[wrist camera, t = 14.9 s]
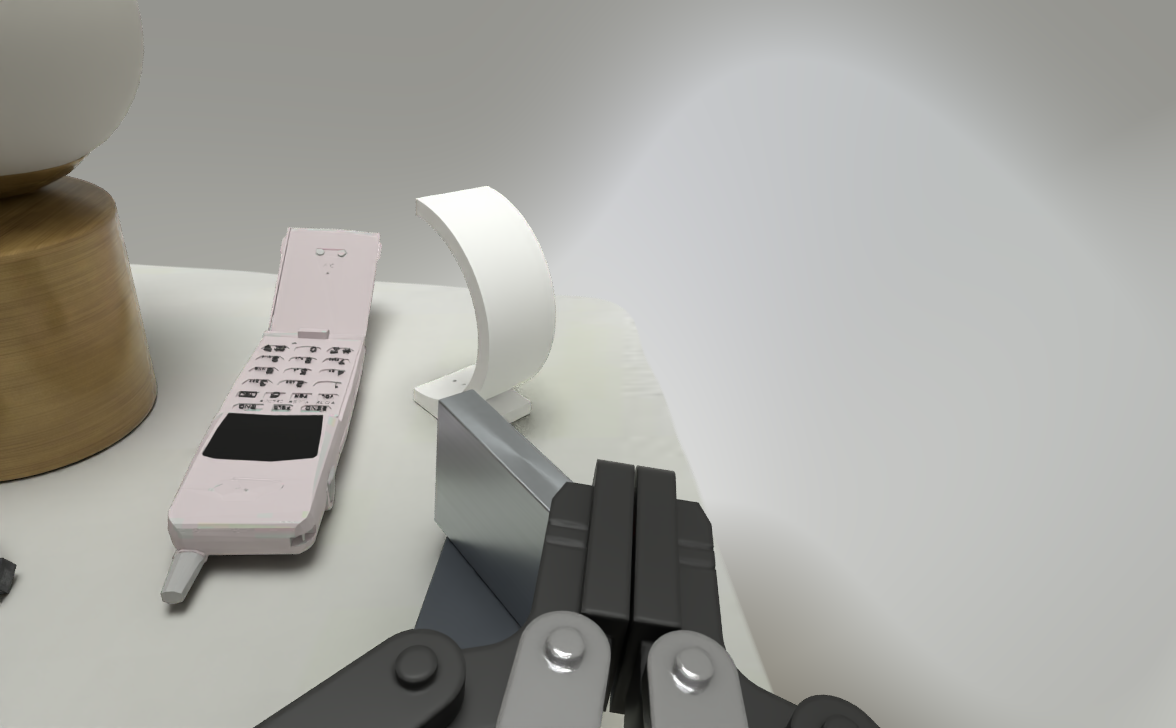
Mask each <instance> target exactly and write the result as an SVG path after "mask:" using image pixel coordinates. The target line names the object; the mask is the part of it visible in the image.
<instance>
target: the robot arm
mask: <svg viewBox="0 0 1176 728" xmlns="http://www.w3.org/2000/svg"><path fill="white" fill-rule="evenodd" d="M713 547H714V545H713V536H712V526H711V523H710V521H709V519H708V518H707V516H706V514H705V513H704V511H703V509H702V508H701V506H700V504H699V503H697V502H691V501H685V500H679V499H676V477H675V472H674V471H668V470H662V469H656V468H650V467H644V466H638V465H637V467H636V469H635V466H634V465H630V464H624V463H618V462H612V461H606V460H599V459H597V463H596V468H595V473H594V478H593V484H592V486H591V485H585V484H578V483H572V482H566V483H565V484H564V485H563V486H562V487H561V489H560V490H559V491H558V492H557V493H556V494H555V496H554V497H553V498H552V501H551V507H550V512H549V517H548V523H547V528H546V533H545V539H544V544H543V550H542V555H541V560H540V566H539V571H538V576H537V582H536V587H535V592H534V598H533V603H532V608H531V611H530V614H529V616H528V618H527V620H526V622H525V623H524V625H523V626H522V627H521V628H520V629H519V630H518V631H517V632H516V633H514V634H513V635H512V636H510V637H508V638H507V639H505V640H503V641H500V642H497V643H495V644H490V645H485V646H479V647H472V648H465V649H461V648H460V647H459V646H458V644H457V643H456V642H455V641H454V640H453V639H452V638H450V637H449V636H447V635H446V634H444V633H441V632H439V631H436V630H431V629H421V628H420V629H411V630H407V631H403V632H400V633H398V634H395V635H394V636H392V637H390V638H388V639H387V640H385V641H384V642H382V643H381V644H379V645H378V646H376V647H375V648H373V649H372V650H370V651H369V652H367V653H366V654H364V655H363V656H361V657H360V658H358V659H356V660H355V661H353V662H352V663H350V664H349V665H347V666H346V667H344V668H343V669H341V670H340V671H338V672H337V673H335V674H334V675H332V676H331V677H329V678H328V679H326V680H325V681H323V682H322V683H320V684H319V685H317V686H316V687H314V688H313V689H311V690H310V691H308V692H307V693H305V694H304V695H302V696H301V697H299V698H298V699H296V700H295V701H293V702H291V703H290V704H288V705H287V706H285V707H284V708H282V709H281V710H279V711H278V712H276V713H275V714H273V715H272V716H270V717H269V718H267V719H266V720H264V721H263V722H261V723H260V724H258V725H257V726H255V727H254V728H600V727H601V720H602V713H603V711H605V712H606V708H607V704H608V700H609V696H610V712H613V713H619V714H625V716H624V728H880V727H879V726H878V725H877V724H876V723H875V722H874V721H873V720H872V719H871V718H870V717H869V716H867V714H866V713H864V712H863V711H862V710H861V709H859V708H858V707H857V706H855V705H853V704H851V703H850V702H848V701H846V700H843V699H841V698H838V697H834V696H830V695H829V696H828V695H815V696H811V697H808V698H806V699H805V700H803V701H802V702H801V703H800V704H799V705H798V706H797V705H795V704H793V703H791V702H789V701H787V700H784V699H783V698H781V697H778V696H776V695H774V694H772V693H770V692H768V691H766V690H764V689H762V688H760V687H758V686H757V685H755V684H754V683H753V682H751V681H750V680H748V679H747V678H746V677H745V676H744V675H743V674H742V673H741V672H740V671H739V670H738V669H737V668H736V666H735V664H734V662H733V660H732V658H731V657H730V655H729V654H728V652H727V651H726V648H725V645H724V641H723V634H722V624H721V614H720V605H719V595H718V585H717V575H716V570H715V555H714V551H713ZM610 692H611V695H610Z"/></svg>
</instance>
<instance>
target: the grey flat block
mask: <svg viewBox="0 0 1176 728" xmlns="http://www.w3.org/2000/svg"><path fill="white" fill-rule="evenodd" d="M566 482H572V481H571V480H570V479H569V478H568V477H567V476H566V475H565V474H564V473H563V472H562V471H561V470H559V469H558V468H557V467H556V466H555V465H554V464H553V463H552V462H551V461H550V460H549V459H548V458H547V457H546V456H544V455H543V454H542V453H541V452H540V451H539V450H538V449H537V448H536V447H535V446H534V445H533V444H532V443H530V442H529V441H528V440H527V439H526V438H525V437H524V436H523V435H522V434H521V433H520V432H519V431H518V430H517V429H515V428H514V427H513V426H512V425H511V424H510V423H509V422H508V421H507V420H506V419H505V418H504V417H503V416H501V415H500V414H499V413H498V412H497V411H496V410H495V409H494V408H493V407H492V406H491V405H490V404H489V403H487V402H486V401H485V400H484V399H483V398H482V397H481V396H480V395H479V394H478V393H477V392H476V391H475V390H473V389H471V390H468V391H464V392H461V393H458V394H455V395H452V396H449V397H445V398H442V399H440V400H439V401H438V425H437V456H436V487H435V518H434V520H435V522H436V523H437V524H438V526H439V527H440V528H441V529H442V530H443V532H444V533H445V534H446V535H447V537H448V538H449V539H450V540H451V541H452V543H453V544H454V545H455V546H456V548H457V549H458V550H459V551H460V552H461V554H462V555H463V556H464V557H465V559H466V560H467V561H468V562H469V563H470V565H471V566H472V567H473V568H474V570H475V571H476V572H477V573H478V574H479V576H480V577H481V578H482V579H483V580H484V582H485V583H486V584H487V585H488V587H489V588H490V589H491V590H492V591H493V593H494V594H495V595H496V596H497V598H498V599H499V600H500V601H501V602H502V604H503V605H504V606H505V607H506V609H507V610H508V611H509V612H510V613H511V615H512V616H513V617H514V618H515V620H516V621H517V622H518V623H519V624H520V626H521V627H522V626H523V625H524V623H525V622H526V620H527V618H528V616H529V614H530V611H531V608H532V603H533V598H534V592H535V587H536V582H537V576H538V571H539V566H540V560H541V555H542V550H543V544H544V539H545V533H546V528H547V523H548V517H549V512H550V507H551V501H552V498H553V497H554V496H555V494H556V493H557V492H558V491H559V490H560V489H561V487H562V486H563V485H564V484H565V483H566ZM572 483H573V482H572Z"/></svg>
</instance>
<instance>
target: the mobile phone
mask: <svg viewBox="0 0 1176 728" xmlns="http://www.w3.org/2000/svg"><path fill="white" fill-rule="evenodd" d="M379 240H380V233H369V232H361V231H352V230H340V229H320V228H317V229H316V228H291V227H288V230H287V234H286V237H284V238H283V241H282V245H281V251H280V253H281V254H282V256H281V261H280V266H279V272H278V278H277V283H276V289H275V295H274V300H273V306H272V311H271V317H270V323H269V328H268V331H265V332H263V335H262V340H261V341H260V343H259V344H258V346H257V348H256V349H255V351H254V352H253V354H252V356H251V357H250V359H249V360H248V362H247V364H246V365H245V367H244V368H243V370H242V371H241V373H240V375H239V376H238V378H237V379H236V381H235V383H234V385H233V386H232V388H231V390H230V392H229V393H228V395H227V397H226V399H225V400H224V402H223V404H222V406H221V408H220V409H219V411H218V413H217V415H216V416H215V417H214V419H213V421H212V422H211V424H210V426H209V428H208V430H207V432H206V434H205V436H204V438H203V440H202V442H201V444H200V445H199V447H198V449H197V451H196V453H195V455H194V457H193V459H192V461H191V463H190V465H189V467H188V470H187V472H186V474H185V476H184V478H183V481H182V483H181V485H180V487H179V489H178V491H177V494H176V496H175V498H174V500H173V502H172V504H171V507H170V509H169V511H168V531H169V534H170V537H171V540H172V543H173V545H174V546H175V547H176V549H177V550H176V552H175V554H174V556H173V558H172V559H173V562H172V564H171V566H170V569H169V572H168V575H167V578H166V580H165V583H164V586H163V589H162V591H161V597H162V601H163V602H166V603H171V604H176V603H179V602H183V600H184V599H185V597H186V595H187V593H188V591H189V590H190V588H191V586H192V584H193V582H194V581H195V579H196V577H197V575H198V573H199V572H200V570H201V568H202V566H203V563H205V562H206V561H207V558H208V556H209V555H256V554H300V553H302V552H304V551H306V550H307V549H309V548H310V547H311V546H312V545H313V544H314V542H315V539H316V536H317V533H318V530H319V527H320V523H321V520H322V517H323V514H324V511H325V510H330V509H331V508H332V506H333V502H334V496H335V472H336V469H337V465H338V461H339V458H340V454H341V453H342V450H343V447H344V444H345V441H346V437H347V433H348V429H349V425H350V421H351V417H352V413H353V409H354V405H355V401H356V397H357V393H358V389H359V384H360V380H361V376H362V370H363V362H364V358H365V352H366V346H365V338H366V332H367V326H368V320H369V314H370V307H371V301H372V295H373V288H374V281H375V274H376V266H377V260H379V259H380V256H381V247H382V245H381V243H379ZM378 249H379V251H378ZM377 258H378V259H377ZM272 317H273V320H272ZM271 322H272V325H271ZM270 327H271V330H270Z"/></svg>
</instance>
